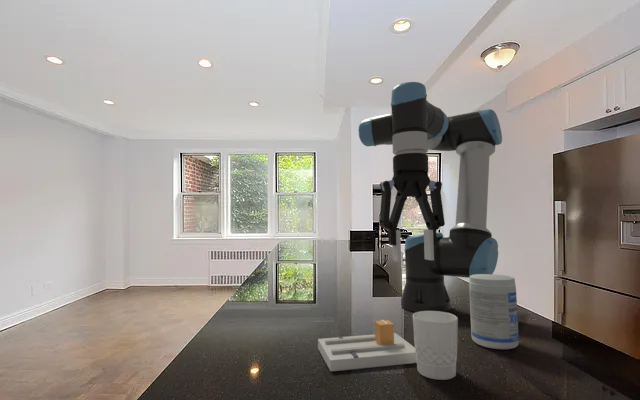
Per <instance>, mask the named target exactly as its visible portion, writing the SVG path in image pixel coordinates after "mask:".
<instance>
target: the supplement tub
mask: <svg viewBox="0 0 640 400" xmlns="http://www.w3.org/2000/svg"><path fill="white" fill-rule="evenodd" d="M516 285H517V284H516V280H515V278H514V276H511V275H504V274H494V273H493V274H475V275H471V276H470V278H469V282H468V287H469V289H468V290H469V291H468V293H469V310H470V313H469V314H470V332H471V333H470V334H471V339H472V341H473V342H474V343H475V344H477V345H479V346H481V347H483V348H488V349H495V350H511V349H515V348H517V347H518V346H519V344H520V341H519V340H520V338H519V337H520V336H519V323H518V322H519V319H518V318H519V316H518V303H517V302H518V301H517V299H518V298H517V287H516Z"/></svg>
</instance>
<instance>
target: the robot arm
mask: <svg viewBox="0 0 640 400" xmlns="http://www.w3.org/2000/svg"><path fill="white" fill-rule="evenodd" d="M427 97H428V94H427V88H426V86H425V84H423V83H422V82H419V81H408V82H406V81H405V82H402V83H400V84H397V85H396V86H394V87H393V89H392V91H391V99H390V100H391V101H390V102H391V103H390V106H391V113H387V114H382V115H378V116H371V117H369V118H366V119H363V120H362V121H360V123H359V125H358V138H359V140H360V142H361V144H362V145H364V146H365V147H377V146H380V145H387V146H388V145H392V154H393V155H394V156H393V157H392V172H393V174H392V175H393V176H392V178H391V180H385V181H384V180H383V181H380V183H379V187H380V191H381V197H380V198H381V200H380V212H379V222H378V223H379V227H381V228H383V229H386V230H387V232H388V234H387V236H388V237H387V238H388V245H389V246H391V247H392V252H391V253H392V261H394V262H398V263H400V262H402V249H401V248H402V246H401V245H402V243H401V241H402V240H401V230H399V229H398V225H399V222H400V219H401V216H402V212H403V209H404V206H405V202H406V201H407V200H408V198H410V197H411V198H414V199H415V201H416V202H417V204H418V207H419V209H420V212H421V215H422V217H423V220H424V223H425V226H426V229H423V234H416V235H410V236H407V238H405V241H404V242H405V243H404V260H405V263H404V264H405V285H404V288H403V290H402V294H401V297H400V306H402V307H403V308H402V307H401V308H402V309H404V310H406V309H407V310H406V311H410V312H414V313H416V312H420V311H440V312H446V313H448V312H449V311H451V309H452V301H451V298H450V296H449V293H448V290H447V287H446V285H445V276H447V277H456V278H457V277H458V278H466V279H467V278H469V279H470V276H471V275H475V274H494V272H495V270H496V267H497V263H498V258H499V244H498V241H497V239H495V238H493V236H492V234H493V233H492V232H491V230H489V229H488V228H487V221H488V219H487V218H488V217H487V216H488V198H489V197H488V194H489V173H490V156H492V155H493V154H495V152H496V146H499V145H501V144H502V142H503V135H502V129H501V125H500V121H499V118H498V115H497V113H496V112H495V110H493V109H490V108H489V109H488V108H487V109H483V110H481V109H479V110H477V111H472V112H468V113H462V114H457V115H453V116H452V115H451V116H447V114H446V113H445V112H444V111H443V110H442V109H441V108H440V107H437V106H435V105H434V104H432V103H431V102H429V101H428V100H427ZM429 151H439V152H453V151H454V152H455V153H456V154H457V155H458V156H459V157H460V158H459V168H458V169H459V170H458V182H457V183H458V184H457V199H456V212H455V213H456V214H455V225H454V226H453V227H451V228H450V229H449V236H447V237H444V235H443V233H442V232H437V230H439V229H440V228H441V227H444V226H445V224H446V223H445V222H446V221H445V215H444V207H443V206H444V205H443V201H442V200H443V199H442V188H443V187H442V186H443V183H442V181H440V180H439V181H434V180H431V178H430V177H429V155H428V154H427V153H428V152H429ZM393 187H394V188H395V190H396V195H395V199H394V200H395V201H394V203H393V208H392V210H391V204H392V190H393ZM427 188H428V190H429V197H430V202H431V205H430V202H429V200H428V199H429V197H428V193H427Z"/></svg>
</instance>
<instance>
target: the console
mask: <svg viewBox="0 0 640 400" xmlns="http://www.w3.org/2000/svg"><path fill="white" fill-rule="evenodd" d="M317 349H318V351H319V353H320V355H321V356H322V359H323V360H324V362H325V365H326V366H327V367H328V369H329V371H330V372H338V371H349V370H359V369H370V368H378V367H379V368H380V367H388V366H397V365H398V366H400V365H407V364H408V365H409V364H417V359H416V357H417V356H416V353H415V346H414V345H412V344H411V343H410V342H408V341H407V340H406V339H404V338H403V337H402V336H400V335H399V334H398V333H396V332H394V344H387V345H380V344H379V343H378V342H377V341H375V333H374V334H362V335H353V336H351V335H350V336H337V337H327V338H326V337H325V338H318V339H317Z"/></svg>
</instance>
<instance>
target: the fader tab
mask: <svg viewBox="0 0 640 400" xmlns="http://www.w3.org/2000/svg"><path fill="white" fill-rule="evenodd" d="M394 326H395V323H393V322H391V321H390V320H388V319H380V320H374V334H375V341H377V342H378V343H379V344H380V345H387V344H394V333H395V331H394V330H395V329H394V328H395V327H394Z"/></svg>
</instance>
